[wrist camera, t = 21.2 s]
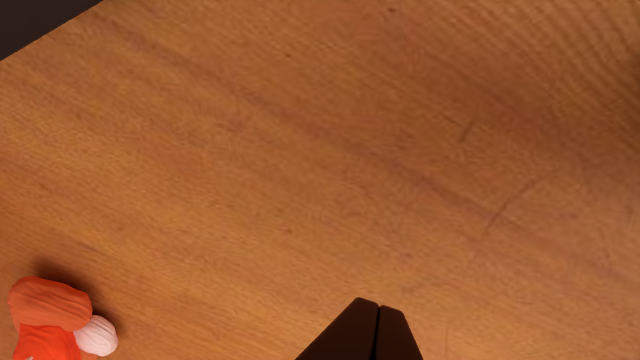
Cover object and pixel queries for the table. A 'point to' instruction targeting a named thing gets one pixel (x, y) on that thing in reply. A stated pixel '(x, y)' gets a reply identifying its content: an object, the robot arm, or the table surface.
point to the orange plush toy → (57, 322)
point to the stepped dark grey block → (34, 20)
